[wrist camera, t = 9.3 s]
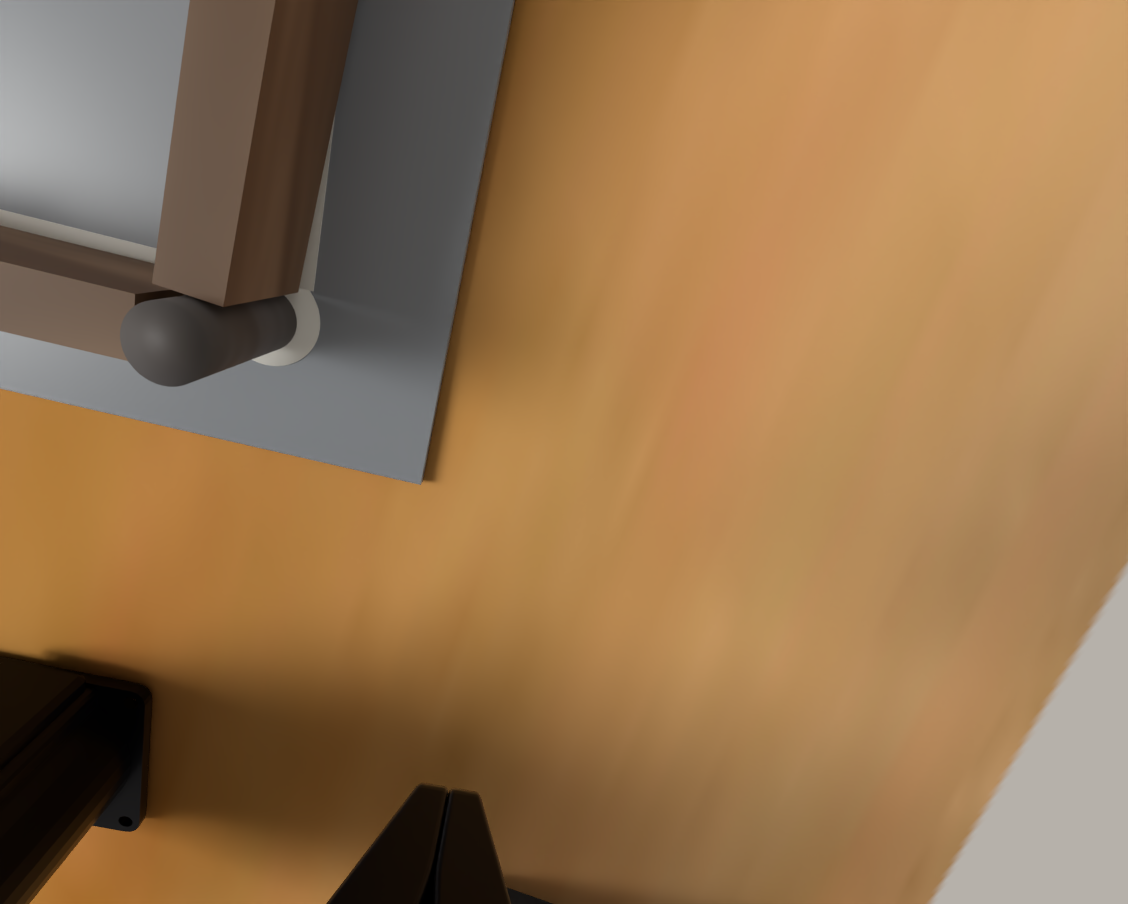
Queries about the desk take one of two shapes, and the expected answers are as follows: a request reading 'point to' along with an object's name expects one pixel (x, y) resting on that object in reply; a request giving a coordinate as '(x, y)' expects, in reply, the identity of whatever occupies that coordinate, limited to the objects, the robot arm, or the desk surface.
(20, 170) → the card
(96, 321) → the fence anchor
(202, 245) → the fence gate
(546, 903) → the ammunition clip
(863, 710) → the desk surface
